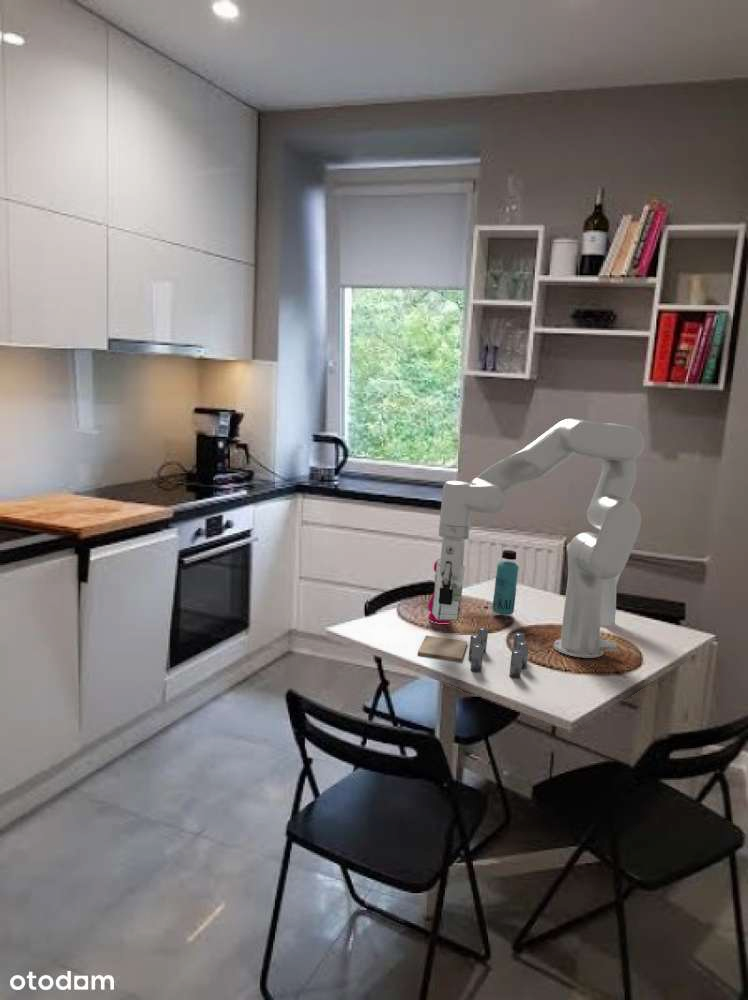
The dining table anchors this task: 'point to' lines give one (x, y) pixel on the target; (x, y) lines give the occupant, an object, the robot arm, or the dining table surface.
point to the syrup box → (452, 610)
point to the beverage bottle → (505, 584)
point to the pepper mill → (430, 605)
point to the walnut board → (442, 648)
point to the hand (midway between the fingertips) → (447, 599)
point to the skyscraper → (609, 602)
